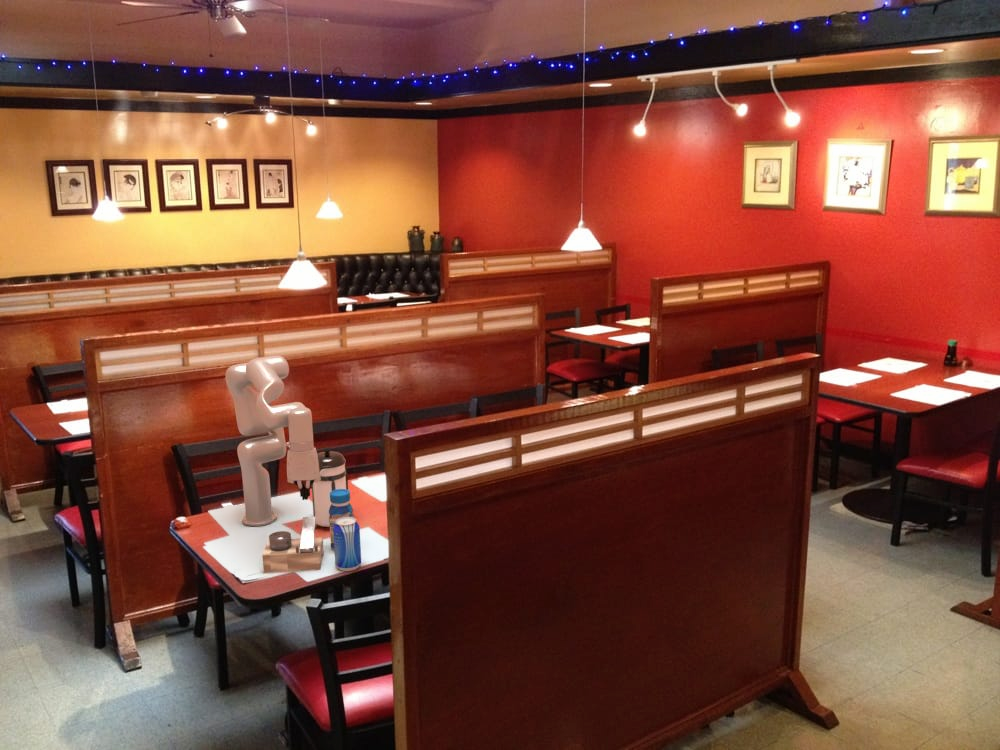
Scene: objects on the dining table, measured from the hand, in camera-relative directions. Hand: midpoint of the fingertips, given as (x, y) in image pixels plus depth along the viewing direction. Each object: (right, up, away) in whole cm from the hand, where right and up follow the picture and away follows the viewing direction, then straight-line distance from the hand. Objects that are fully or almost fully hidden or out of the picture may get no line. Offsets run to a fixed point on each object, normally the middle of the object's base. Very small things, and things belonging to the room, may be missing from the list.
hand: (305, 498), depth 278 cm
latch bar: (+1, -12, -1) cm, 12 cm away
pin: (-8, -21, 0) cm, 23 cm away
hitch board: (-4, -21, +1) cm, 22 cm away
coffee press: (+2, -14, +33) cm, 36 cm away
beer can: (+15, -22, -2) cm, 27 cm away
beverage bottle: (+10, -19, +13) cm, 25 cm away
